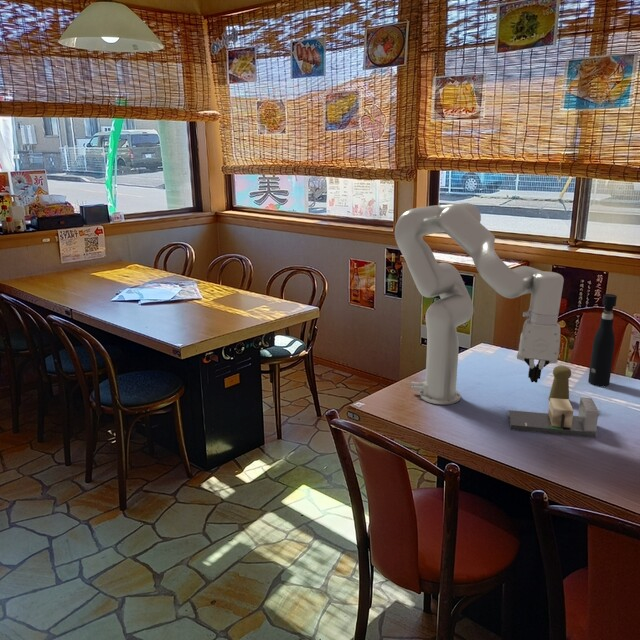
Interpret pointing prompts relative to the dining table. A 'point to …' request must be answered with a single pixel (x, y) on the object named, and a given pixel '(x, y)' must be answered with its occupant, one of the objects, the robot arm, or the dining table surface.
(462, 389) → the dining table surface
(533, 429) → the gauge rail
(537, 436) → the dining table surface
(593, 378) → the black water bottle
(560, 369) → the olive brown pawn
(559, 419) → the block
